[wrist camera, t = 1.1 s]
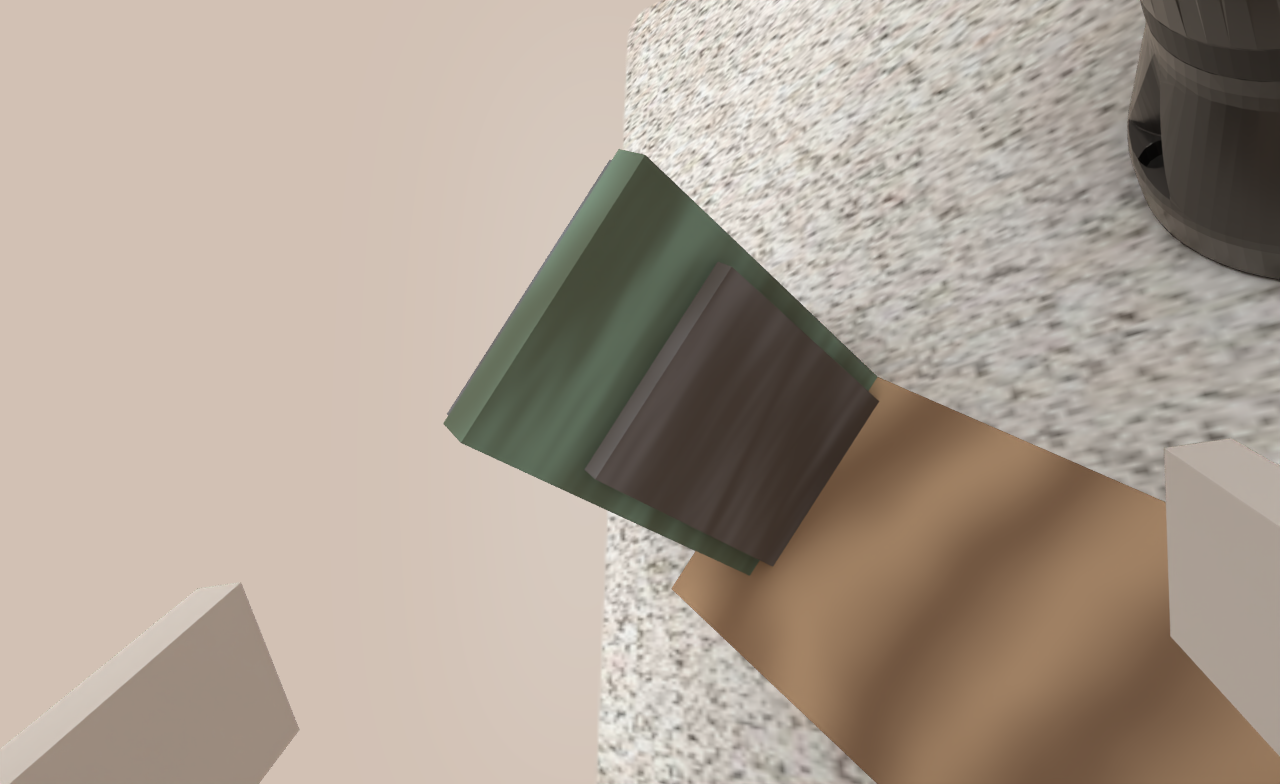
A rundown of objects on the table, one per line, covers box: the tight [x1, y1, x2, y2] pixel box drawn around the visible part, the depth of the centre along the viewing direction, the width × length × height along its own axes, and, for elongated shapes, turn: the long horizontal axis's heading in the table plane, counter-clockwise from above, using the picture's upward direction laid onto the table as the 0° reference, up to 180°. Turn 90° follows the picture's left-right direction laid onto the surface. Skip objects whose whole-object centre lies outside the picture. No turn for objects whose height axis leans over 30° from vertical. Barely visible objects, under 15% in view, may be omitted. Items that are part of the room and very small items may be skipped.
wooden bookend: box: [444, 149, 1280, 784], centre depth 24 cm, size 25×14×18 cm, turn 45°
